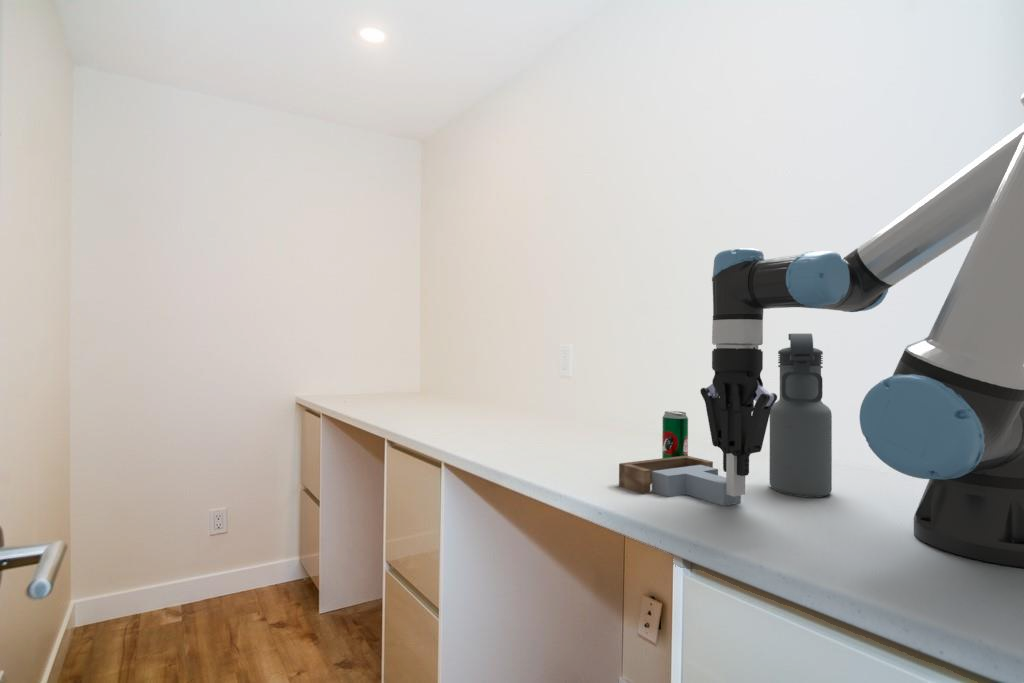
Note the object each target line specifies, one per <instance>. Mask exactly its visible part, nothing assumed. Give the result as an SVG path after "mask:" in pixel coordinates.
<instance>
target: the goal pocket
mask: <svg viewBox="0 0 1024 683" xmlns="http://www.w3.org/2000/svg"><path fill="white" fill-rule="evenodd" d="M695 465H704V466H708V467H712V468H714V461H712V460H708V459H703V458H699V457H694V456H691V455H688V456H678V457H670V458H662V457H661V458H653V459H645V460H637V461H631V462H629V461H628V462H620V463H618V486H620V487H623V488H625V489H628V490H631V491H634V492H637V493H639V494H642V495H644V494H645V495H647V494H651V484H652V471H657V470H664V469H672V468H680V467H687V466H695Z"/></svg>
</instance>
